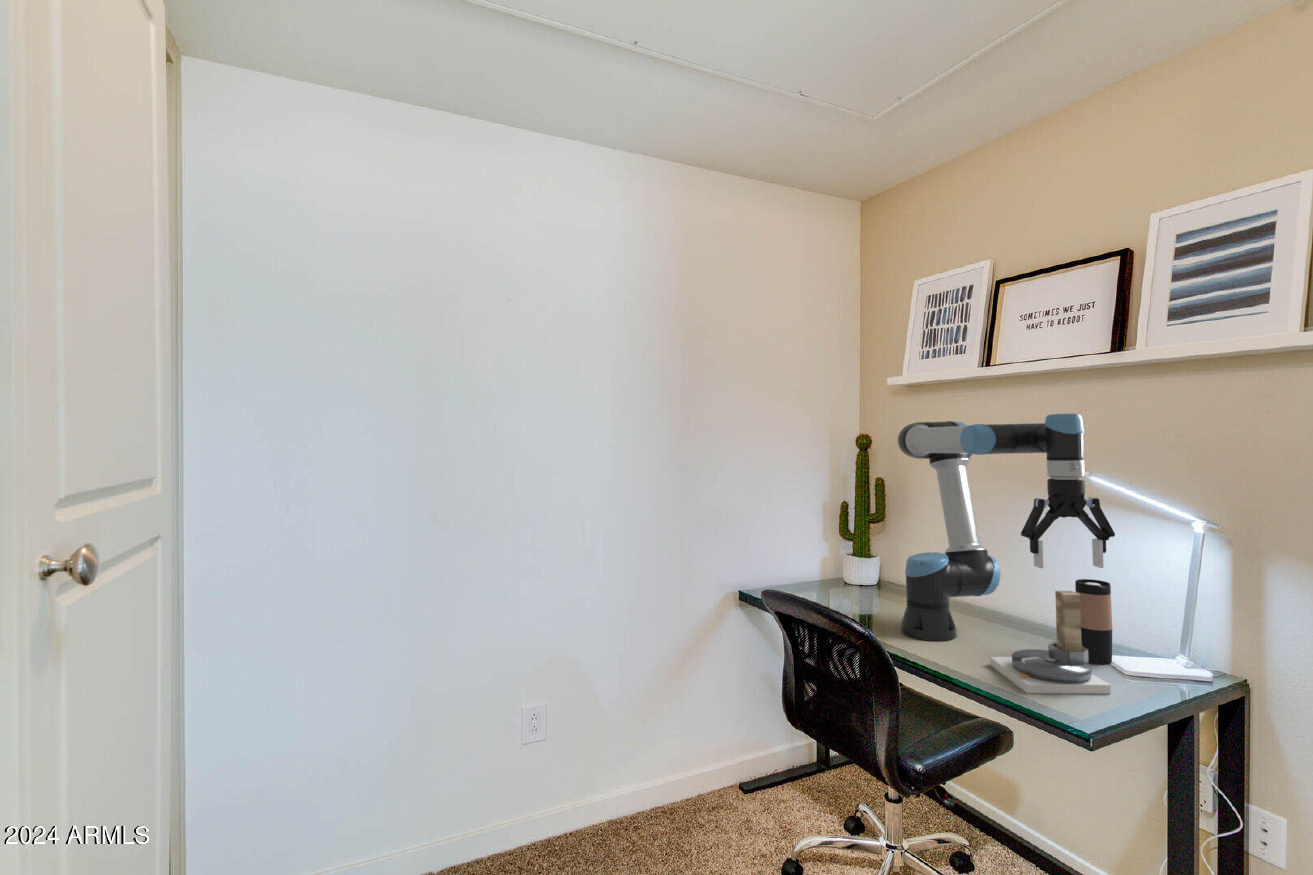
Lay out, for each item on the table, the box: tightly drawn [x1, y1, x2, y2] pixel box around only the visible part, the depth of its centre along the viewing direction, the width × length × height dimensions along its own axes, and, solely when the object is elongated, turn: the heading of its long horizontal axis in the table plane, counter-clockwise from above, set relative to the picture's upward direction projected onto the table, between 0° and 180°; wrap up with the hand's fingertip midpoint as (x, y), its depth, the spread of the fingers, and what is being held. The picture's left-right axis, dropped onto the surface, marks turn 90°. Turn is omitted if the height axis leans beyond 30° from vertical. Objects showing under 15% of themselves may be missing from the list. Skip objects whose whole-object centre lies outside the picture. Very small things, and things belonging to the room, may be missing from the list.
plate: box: [989, 656, 1112, 695], centre depth 148 cm, size 18×18×2 cm
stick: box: [1054, 590, 1082, 651], centre depth 147 cm, size 4×4×16 cm
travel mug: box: [1074, 578, 1113, 665], centre depth 159 cm, size 8×8×20 cm
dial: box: [1011, 641, 1093, 682], centre depth 146 cm, size 16×16×5 cm
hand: (1068, 567), depth 147 cm, fingers open, 13 cm apart
